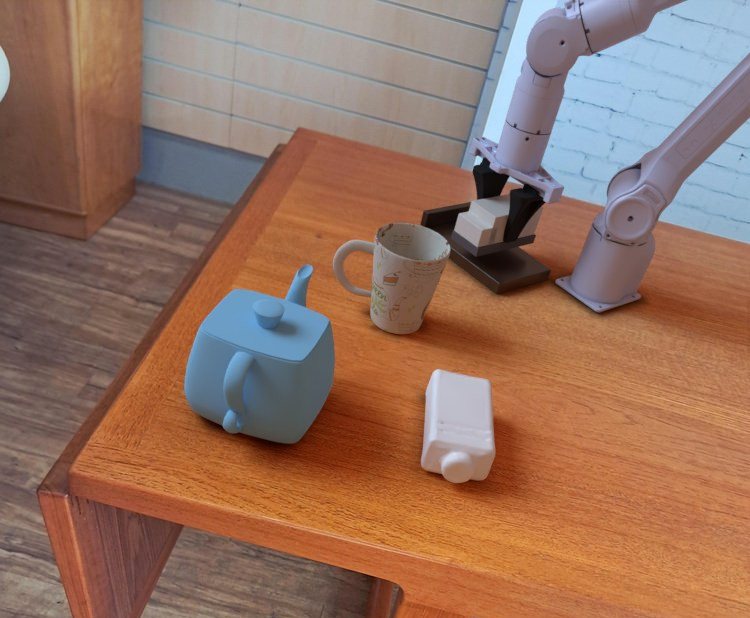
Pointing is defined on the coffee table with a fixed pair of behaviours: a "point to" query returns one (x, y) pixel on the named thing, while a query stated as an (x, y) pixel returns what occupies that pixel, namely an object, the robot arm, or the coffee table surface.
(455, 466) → the white bottle
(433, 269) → the mug
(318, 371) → the teapot
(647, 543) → the coffee table surface
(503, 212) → the white stepped block
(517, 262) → the shoe shelf
